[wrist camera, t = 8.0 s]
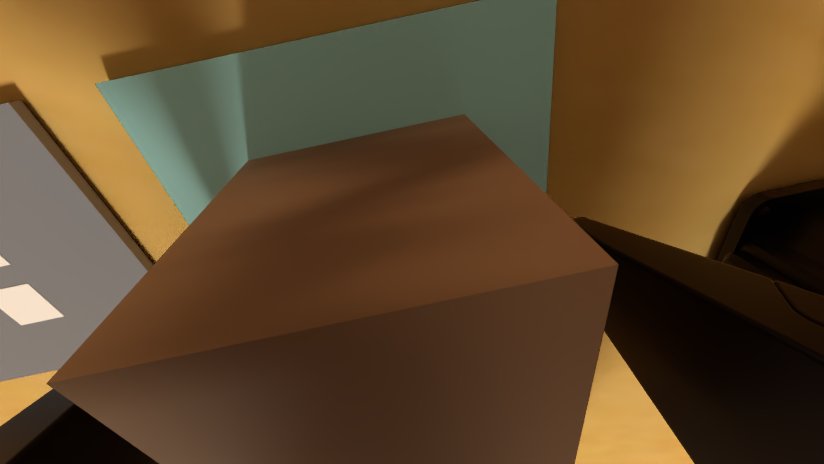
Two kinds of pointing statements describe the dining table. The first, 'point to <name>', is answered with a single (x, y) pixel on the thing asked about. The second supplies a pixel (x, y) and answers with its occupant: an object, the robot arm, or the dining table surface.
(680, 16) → the dining table surface
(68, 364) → the walnut block
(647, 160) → the dining table surface
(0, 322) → the code tile
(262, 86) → the teal mat
